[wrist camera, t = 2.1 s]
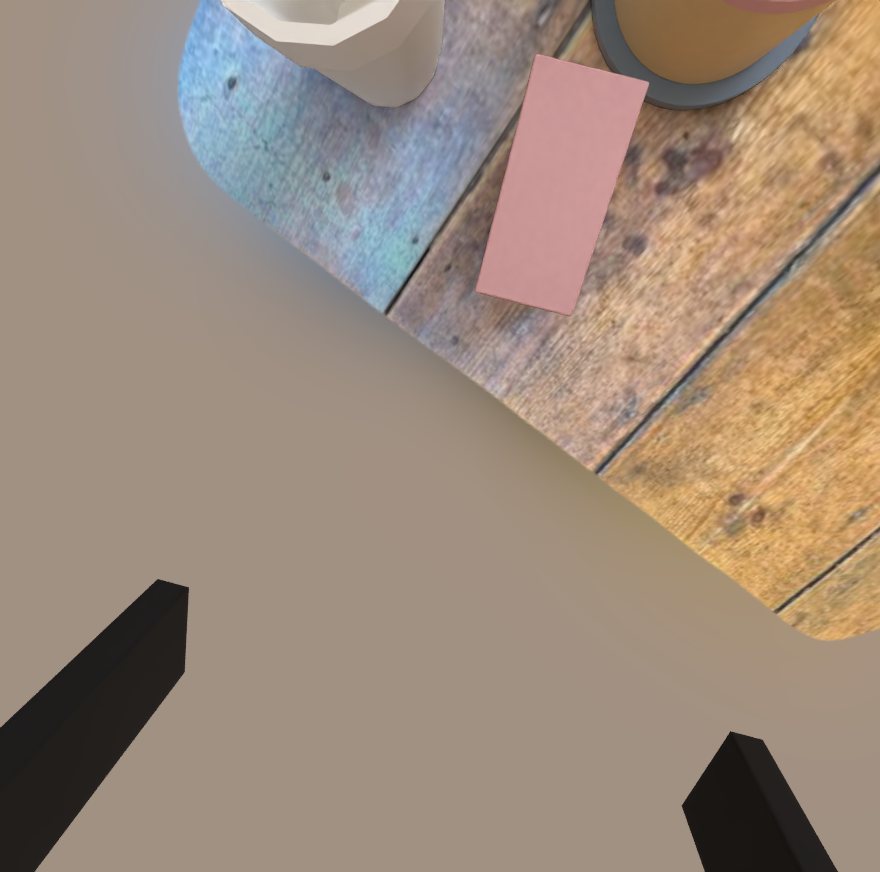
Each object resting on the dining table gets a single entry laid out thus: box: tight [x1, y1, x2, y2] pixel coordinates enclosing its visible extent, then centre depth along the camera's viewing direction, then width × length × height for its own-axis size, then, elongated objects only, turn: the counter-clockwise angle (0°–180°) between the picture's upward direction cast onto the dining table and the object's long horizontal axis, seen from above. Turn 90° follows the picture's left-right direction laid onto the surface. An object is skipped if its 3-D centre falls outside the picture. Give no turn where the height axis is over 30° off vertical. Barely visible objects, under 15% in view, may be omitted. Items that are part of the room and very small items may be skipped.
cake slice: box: [475, 54, 649, 316], centre depth 25 cm, size 9×4×11 cm, turn 166°
